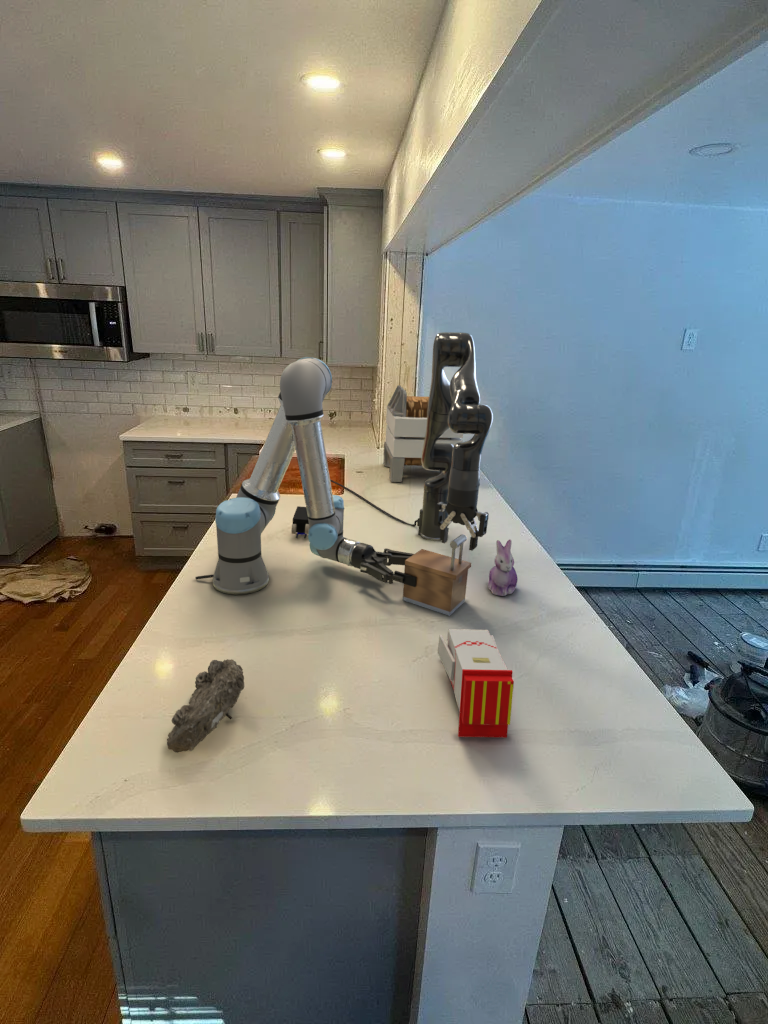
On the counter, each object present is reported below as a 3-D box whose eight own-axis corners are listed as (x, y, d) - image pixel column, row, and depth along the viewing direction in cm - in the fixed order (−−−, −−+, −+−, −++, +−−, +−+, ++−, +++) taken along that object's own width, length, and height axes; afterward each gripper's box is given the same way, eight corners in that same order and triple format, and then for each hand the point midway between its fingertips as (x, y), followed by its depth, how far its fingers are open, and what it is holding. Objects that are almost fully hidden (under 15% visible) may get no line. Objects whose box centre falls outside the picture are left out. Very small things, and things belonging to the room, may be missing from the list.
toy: (488, 613, 130) (523, 677, 101) (484, 667, 133) (517, 744, 104) (435, 612, 130) (455, 676, 101) (432, 666, 133) (451, 743, 103)
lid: (471, 566, 151) (474, 534, 148) (455, 579, 144) (459, 545, 141) (421, 552, 159) (423, 521, 156) (404, 564, 151) (406, 531, 148)
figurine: (500, 600, 157) (506, 550, 151) (478, 584, 165) (483, 536, 160) (526, 593, 161) (533, 545, 156) (503, 578, 169) (509, 532, 164)
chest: (464, 601, 155) (468, 566, 152) (449, 615, 148) (453, 579, 144) (419, 586, 162) (421, 553, 159) (402, 600, 155) (404, 564, 151)
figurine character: (310, 544, 191) (314, 524, 204) (310, 524, 187) (314, 505, 201) (290, 544, 190) (296, 523, 204) (290, 524, 187) (295, 504, 200)
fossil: (192, 660, 117) (244, 628, 112) (224, 691, 120) (276, 661, 115) (142, 746, 98) (202, 712, 93) (182, 779, 101) (242, 748, 96)
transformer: (382, 463, 289) (386, 382, 275) (445, 464, 293) (451, 384, 279) (390, 482, 257) (394, 392, 243) (460, 483, 261) (468, 394, 247)
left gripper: (377, 554, 175) (442, 573, 165) (334, 580, 157) (404, 603, 147) (378, 531, 173) (444, 549, 162) (334, 555, 155) (405, 577, 144)
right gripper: (431, 482, 141) (426, 543, 147) (485, 494, 134) (478, 557, 140) (444, 476, 147) (439, 535, 153) (496, 487, 140) (489, 548, 146)
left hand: (425, 575), depth 154 cm, fingers closed on chest, 9 cm apart
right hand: (458, 545), depth 146 cm, fingers open, 7 cm apart
